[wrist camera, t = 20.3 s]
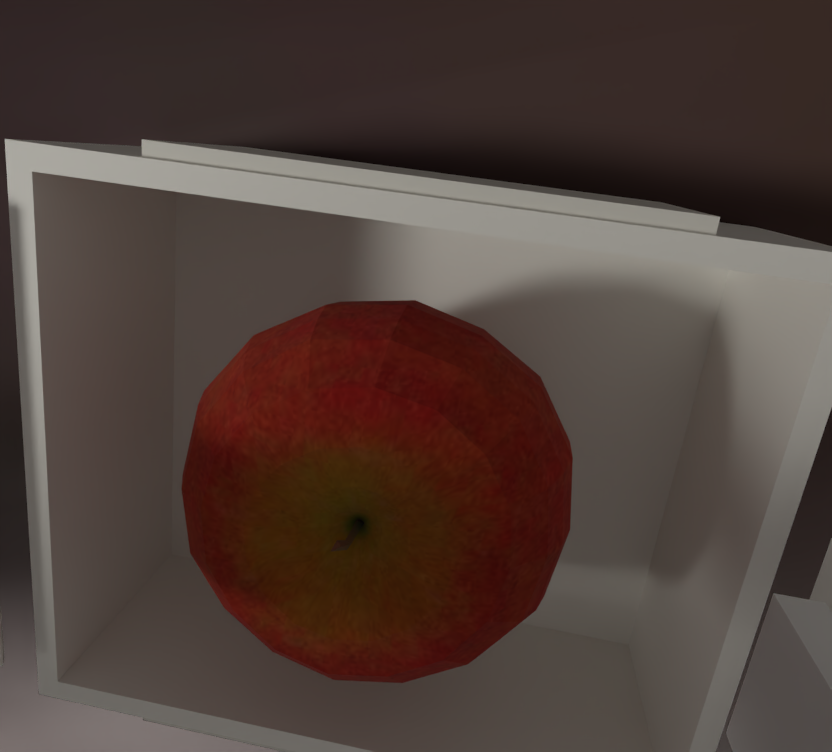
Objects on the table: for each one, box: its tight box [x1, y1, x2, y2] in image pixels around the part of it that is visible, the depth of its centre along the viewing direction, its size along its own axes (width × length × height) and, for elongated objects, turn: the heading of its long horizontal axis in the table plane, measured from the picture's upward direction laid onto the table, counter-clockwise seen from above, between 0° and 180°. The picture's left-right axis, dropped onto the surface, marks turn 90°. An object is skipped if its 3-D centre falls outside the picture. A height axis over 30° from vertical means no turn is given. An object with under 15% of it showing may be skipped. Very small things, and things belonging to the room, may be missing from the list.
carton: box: [5, 139, 832, 752], centre depth 16 cm, size 15×13×6 cm
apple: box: [181, 300, 573, 683], centre depth 15 cm, size 8×8×8 cm
